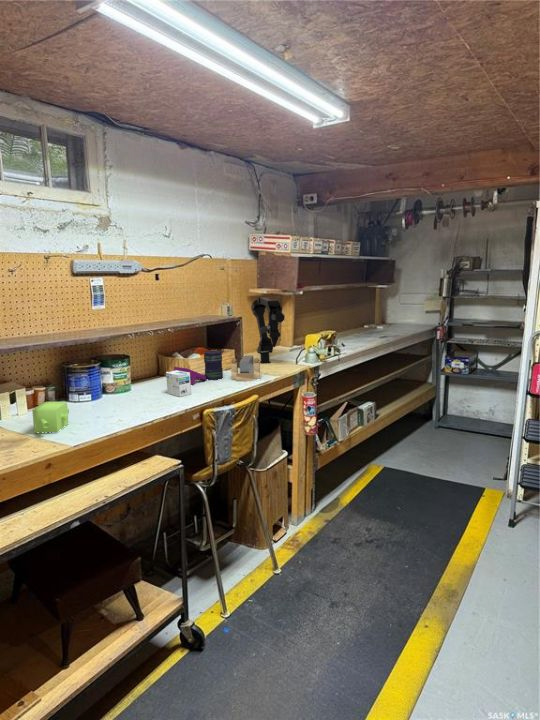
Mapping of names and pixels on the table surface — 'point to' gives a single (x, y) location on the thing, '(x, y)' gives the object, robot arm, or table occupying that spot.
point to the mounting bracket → (191, 374)
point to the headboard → (245, 376)
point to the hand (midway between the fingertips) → (274, 347)
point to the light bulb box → (178, 383)
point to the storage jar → (213, 364)
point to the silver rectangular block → (247, 364)
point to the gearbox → (50, 416)
